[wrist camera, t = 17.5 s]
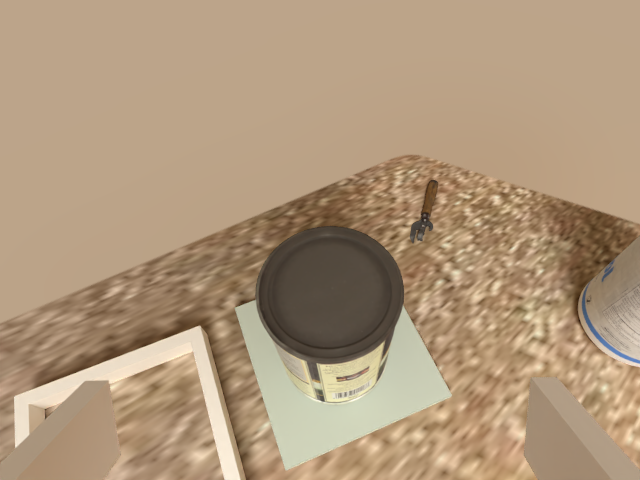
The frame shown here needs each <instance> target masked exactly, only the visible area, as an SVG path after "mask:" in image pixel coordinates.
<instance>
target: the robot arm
mask: <svg viewBox="0 0 640 480" xmlns="http://www.w3.org/2000/svg"><path fill="white" fill-rule="evenodd" d="M120 455H121V453H120V447H119V440H118V434H117V428H116V422H115V416H114V410H113V404H112V398H111V391H110V385H109V380H99V381H84V382H83V383H82V384H81V385H80V386H79V387H78V388H77V389H76V390H75V391H74V392H73V393H72V394H71V395H70V396H69V397H68V398H67V399H66V400H65V401H64V402H63V403H62V404H61V405H60V406H59V407H58V408H56V409H55V410H54V411H53V412H52V413H51V414H50V415H49V416H48V417H47V418H46V419H45V420H44V421H43V422H42V423H41V424H40V425H39V426H38V427H37V428H36V429H35V430H34V431H33V432H32V433H31V434H30V435H29V436H28V437H27V438H25V439H24V440H23V441H22V442H21V443H20V444H19V445H18V446H17V447H16V448H15V449H14V450H13V451H12V452H11V453H10V454H9V455H8V456H7V457H6V458H5V459H4V460H3V461H2V462H1V463H0V480H104V479H105V477H106V476H107V474H108V473H109V471H110V470H111V468H112V467H113V466H114V464H115V463H116V461H117V460H118V458H119V457H120ZM524 456H525V458H526V460H527V462H528V463H529V465H530V467H531V469H532V470H533V472H534V474H535V475H536V477H537V479H538V480H640V470H639V468H638V467H637V466H636V465H635V464H634V463H633V462H632V461H631V460H630V458H629V457H628V456H627V455H626V454H625V453H624V452H623V451H622V450H621V448H620V447H619V446H618V445H617V444H616V443H615V442H614V441H613V439H612V438H611V437H610V436H609V435H608V434H607V433H606V432H605V431H604V429H603V428H602V427H601V426H600V425H599V424H598V423H597V422H596V421H595V419H594V418H593V417H592V416H591V415H590V414H589V413H588V412H587V410H586V409H585V408H584V407H583V406H582V405H581V404H580V403H579V402H578V400H577V399H576V398H575V397H574V396H573V395H572V394H571V393H570V392H569V390H568V389H567V388H566V387H565V386H564V385H563V384H562V383H561V382H560V380H559V379H558V378H557V377H531V379H530V390H529V402H528V413H527V425H526V436H525V448H524Z"/></svg>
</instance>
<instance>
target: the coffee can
mask: <svg viewBox="0 0 640 480" xmlns="http://www.w3.org/2000/svg"><path fill="white" fill-rule="evenodd" d="M255 298H256V306H257V311H258V314H259V318H260V320H261V322H262V324H263V326H264V328H265V329H266V331H267V333H268V334H269V336H270V337H271V339H272V341H273V343H274V345H275V347H276V349H277V352H278V354H279V356H280V358H281V360H282V362H283V365H284V368H285V371H286V374H287V376H288V378H289V379H290V381H291V382H292V384H293V385H294V386H295V387H296V389H297V390H298V391H299V392H301V393H302V394H303V395H305V396H306V397H308V398H309V399H311V400H313V401H316V402H319V403H322V404H327V405H343V404H348V403H351V402H354V401H356V400H359V399H360V398H362V397H364V396H365V395H367V394H368V393H369V392H370V391H372V390H373V389H374V388H375V387H376V385H377V384H378V383H379V381H380V380H381V378H382V376H383V374H384V371H385V368H386V365H387V360H388V354H389V349H390V345H391V341H392V337H393V334H394V330H395V326H396V324H397V322H398V320H399V317H400V314H401V312H402V307H403V302H404V286H403V280H402V276H401V273H400V270H399V268H398V266H397V263H396V262H395V260H394V259H393V257H392V256H391V254H390V253H389V252H388V251H387V250H386V249H385V248H384V247H383V246H382V245H381V244H380V243H378V242H377V241H376V240H375V239H373V238H371V237H369V236H368V235H366V234H364V233H362V232H359V231H356V230H353V229H350V228H345V227H336V226H325V227H317V228H312V229H308V230H305V231H302V232H300V233H297V234H295V235H293V236H291V237H290V238H288V239H287V240H285V241H284V242H282V243H281V244H280V245H279V246H278V247H277V248H276V249H275V250H274V251H273V252H272V253H271V254H270V255H269V257H268V258H267V260H266V261H265V263H264V264H263V266H262V268H261V271H260V273H259V276H258V279H257V284H256V295H255Z"/></svg>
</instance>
